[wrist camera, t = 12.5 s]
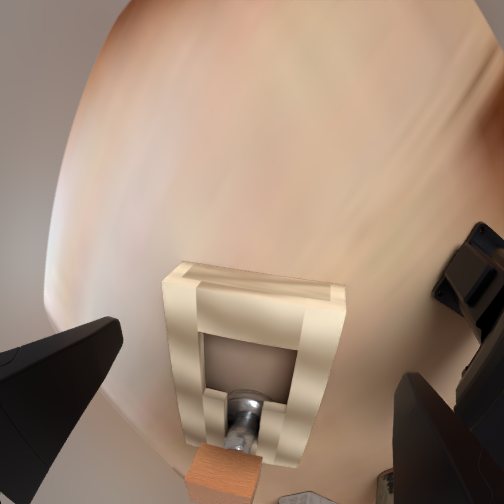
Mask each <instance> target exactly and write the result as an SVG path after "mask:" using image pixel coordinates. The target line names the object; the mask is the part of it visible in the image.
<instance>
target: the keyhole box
mask: <svg viewBox="0 0 504 504" xmlns="http://www.w3.org/2000/svg"><path fill="white" fill-rule="evenodd" d="M162 290H163V301H164V310H165V319H166V328H167V336H168V344H169V351H170V358H171V365H172V372H173V378H174V384H175V390H176V396H177V402H178V408H179V413H180V418H181V423H182V428H183V433H184V438H185V443H186V444H189V445H192V446H196V447H200V445H201V443H202V442H203V443H206V444H210V445H214V446H218V447H222V448H223V446H224V443H225V441H226V438H227V435H228V433H229V430H230V428H231V425H229V424H227V393H225V392H221V391H217V390H213V389H209V388H206V377H205V359H204V340H203V333H207V334H212V335H217V336H221V337H226V338H231V339H236V340H241V341H246V342H252V343H257V344H263V345H268V346H274V347H280V348H286V349H293V350H298V353H297V358H296V363H295V369H294V374H293V379H292V384H291V389H290V393H289V398H288V403H287V405H286V404H280V403H274V402H268V401H264V405H263V408H262V414H261V422H260V429H259V433H256V435H255V438H254V441H253V445H252V448H251V451H250V454H252V455H257V456H262V457H263V460H262V463H266V464H272V465H278V466H284V467H291V468H297V467H298V465H299V462H300V460H301V457H302V455H303V452H304V449H305V447H306V444H307V441H308V438H309V436H310V433H311V430H312V427H313V424H314V421H315V419H316V416H317V413H318V410H319V407H320V404H321V400H322V397H323V394H324V391H325V388H326V385H327V381H328V378H329V375H330V371H331V368H332V364H333V361H334V357H335V354H336V350H337V346H338V343H339V339H340V335H341V331H342V327H343V323H344V319H345V315H346V300H345V286H344V285H339V284H332V283H325V282H318V281H311V280H304V279H297V278H290V277H283V276H276V275H269V274H263V273H256V272H249V271H243V270H236V269H230V268H223V267H217V266H211V265H204V264H198V263H192V262H186V261H183V262H182V263H181V264H180V265H179V266H177V267H176V268H175V269H174V270H173V271H172V272H171V273H170V274H169V275H168V276H167V277H166V278H165V279H164V280H163V281H162Z"/></svg>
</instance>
